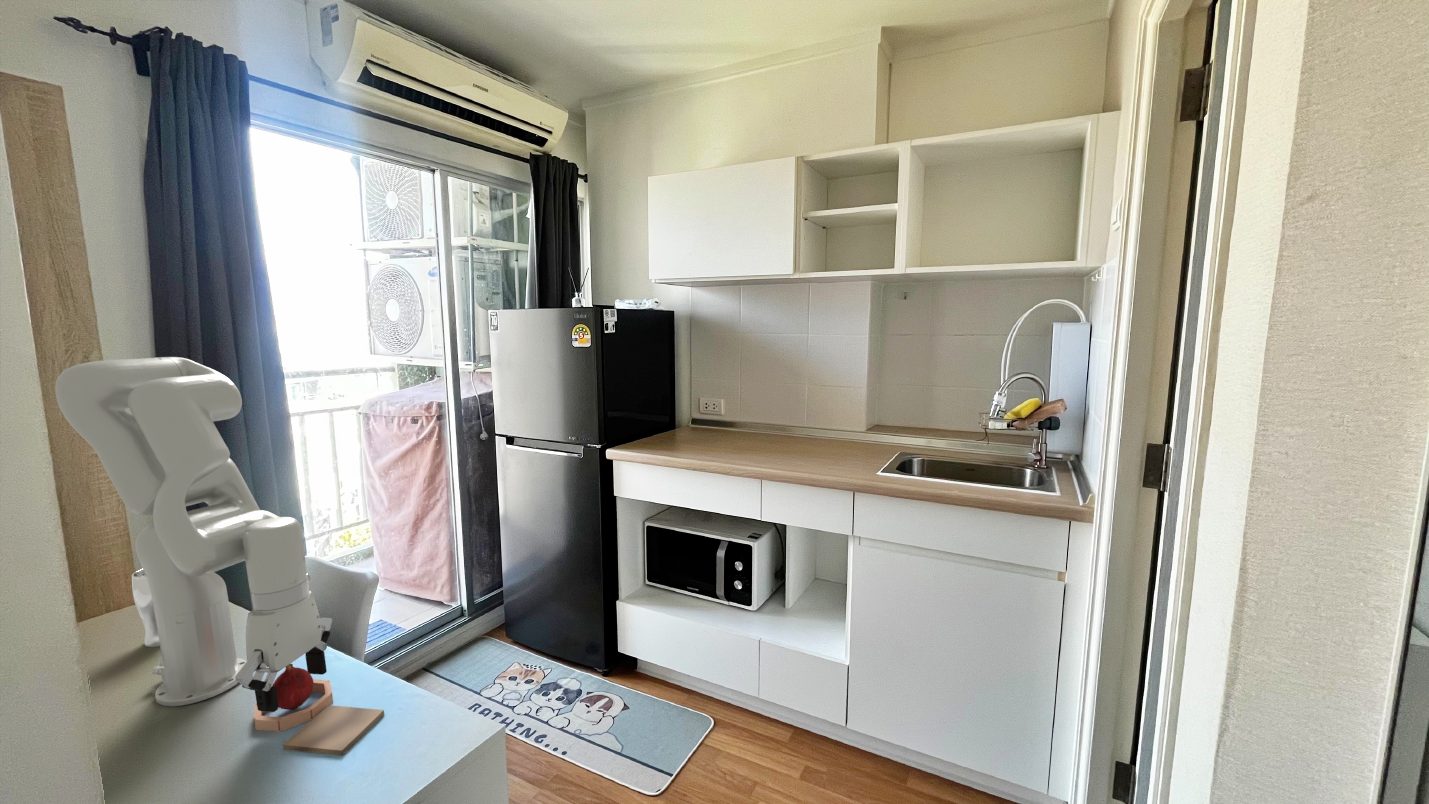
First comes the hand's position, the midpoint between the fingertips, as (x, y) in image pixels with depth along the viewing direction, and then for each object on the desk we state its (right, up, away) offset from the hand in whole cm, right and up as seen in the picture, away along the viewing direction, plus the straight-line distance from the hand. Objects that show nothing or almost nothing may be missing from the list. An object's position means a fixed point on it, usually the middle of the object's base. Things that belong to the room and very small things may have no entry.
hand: (294, 690), depth 95 cm
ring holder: (0, -3, +1) cm, 3 cm away
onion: (0, -4, +1) cm, 4 cm away
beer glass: (-43, -1, +22) cm, 48 cm away
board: (+10, -4, -5) cm, 12 cm away
